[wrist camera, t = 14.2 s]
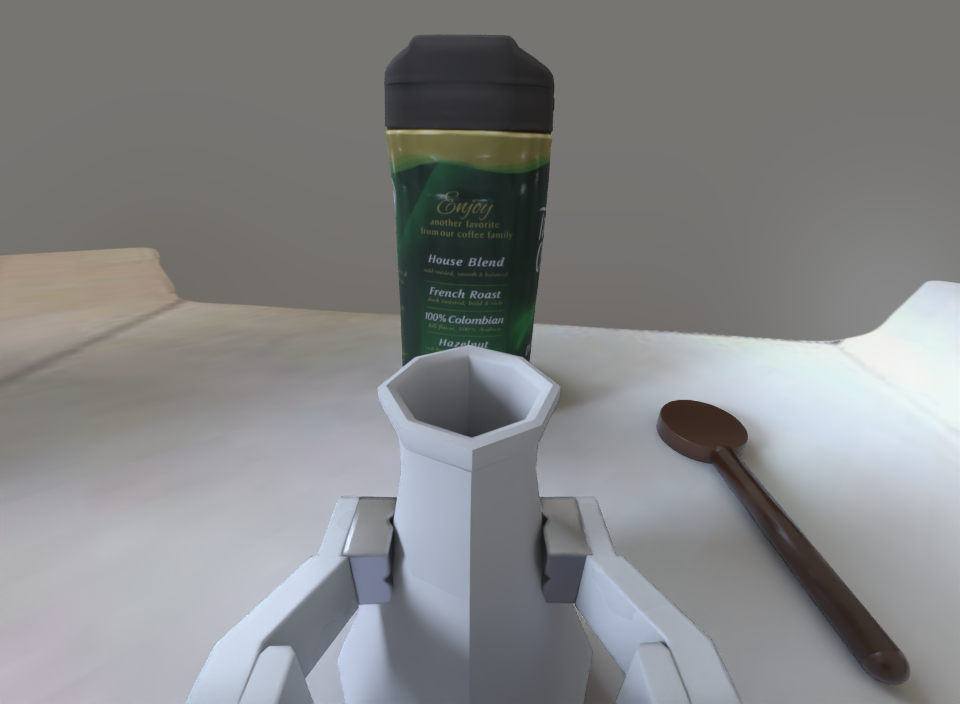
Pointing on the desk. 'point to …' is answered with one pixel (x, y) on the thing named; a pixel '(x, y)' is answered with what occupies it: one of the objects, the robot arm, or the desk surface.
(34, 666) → the desk surface
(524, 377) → the flask
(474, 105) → the coffee jar
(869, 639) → the wooden spoon
